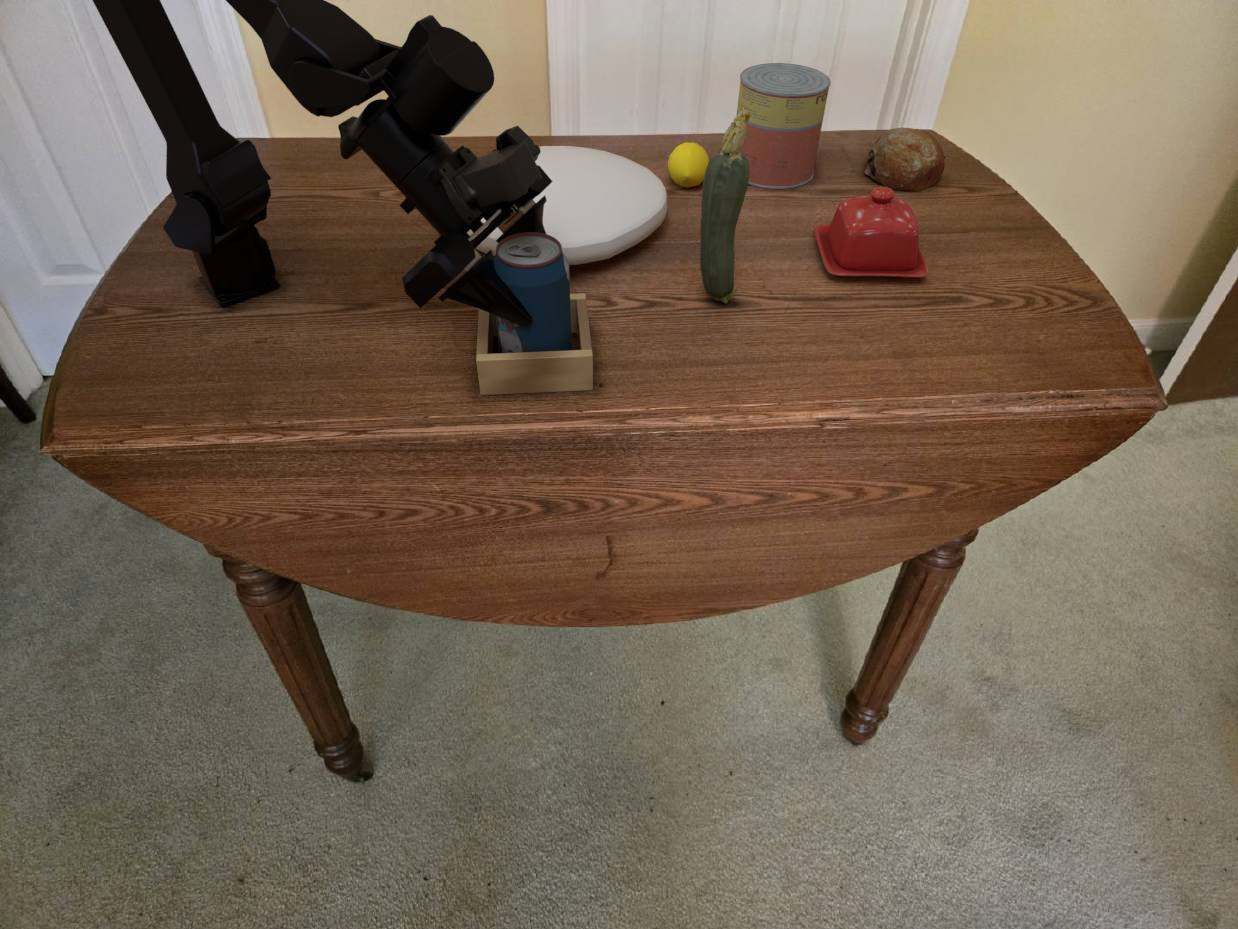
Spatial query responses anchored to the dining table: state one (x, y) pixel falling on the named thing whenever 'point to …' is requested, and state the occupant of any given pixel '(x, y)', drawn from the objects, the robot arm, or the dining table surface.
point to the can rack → (536, 360)
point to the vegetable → (723, 210)
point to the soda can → (535, 293)
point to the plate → (594, 203)
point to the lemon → (688, 164)
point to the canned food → (782, 122)
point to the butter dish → (872, 238)
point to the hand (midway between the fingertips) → (546, 303)
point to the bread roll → (905, 159)
